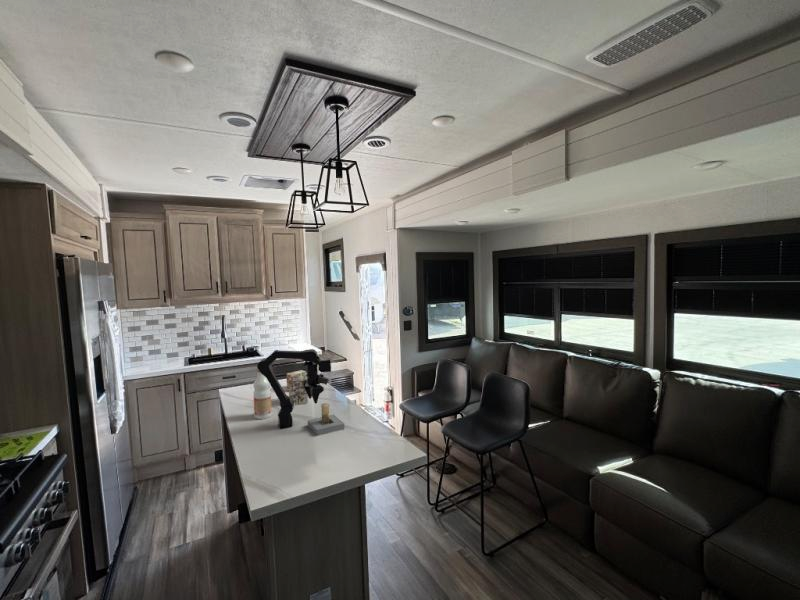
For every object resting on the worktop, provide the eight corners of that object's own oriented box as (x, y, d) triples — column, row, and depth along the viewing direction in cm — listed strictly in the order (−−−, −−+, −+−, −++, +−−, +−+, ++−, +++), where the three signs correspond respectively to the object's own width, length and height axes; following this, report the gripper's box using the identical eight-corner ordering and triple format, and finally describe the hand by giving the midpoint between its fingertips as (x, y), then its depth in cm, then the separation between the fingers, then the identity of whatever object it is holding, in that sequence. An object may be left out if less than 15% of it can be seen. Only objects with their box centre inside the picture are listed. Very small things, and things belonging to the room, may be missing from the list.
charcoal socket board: (317, 435, 190) (317, 430, 190) (307, 425, 203) (307, 420, 202) (344, 428, 198) (344, 423, 198) (333, 419, 211) (333, 414, 210)
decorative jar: (288, 405, 234) (287, 377, 232) (289, 399, 245) (288, 372, 244) (308, 403, 237) (307, 376, 235) (308, 397, 248) (307, 371, 247)
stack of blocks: (312, 383, 281) (312, 367, 280) (317, 385, 276) (317, 368, 275) (286, 390, 265) (286, 373, 264) (291, 392, 261) (290, 374, 260)
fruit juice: (262, 420, 210) (260, 372, 208) (250, 417, 215) (248, 370, 213) (275, 414, 219) (273, 368, 217) (263, 412, 223) (261, 366, 221)
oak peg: (325, 429, 197) (325, 406, 196) (320, 427, 200) (319, 405, 199) (331, 426, 201) (330, 404, 200) (325, 425, 203) (325, 402, 202)
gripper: (332, 374, 199) (333, 402, 200) (320, 367, 215) (321, 393, 216) (312, 377, 193) (313, 407, 194) (301, 370, 209) (302, 397, 210)
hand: (313, 400), depth 204 cm, fingers open, 9 cm apart
